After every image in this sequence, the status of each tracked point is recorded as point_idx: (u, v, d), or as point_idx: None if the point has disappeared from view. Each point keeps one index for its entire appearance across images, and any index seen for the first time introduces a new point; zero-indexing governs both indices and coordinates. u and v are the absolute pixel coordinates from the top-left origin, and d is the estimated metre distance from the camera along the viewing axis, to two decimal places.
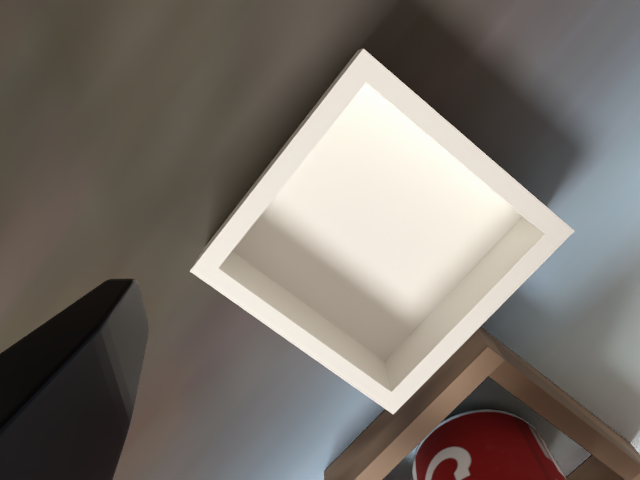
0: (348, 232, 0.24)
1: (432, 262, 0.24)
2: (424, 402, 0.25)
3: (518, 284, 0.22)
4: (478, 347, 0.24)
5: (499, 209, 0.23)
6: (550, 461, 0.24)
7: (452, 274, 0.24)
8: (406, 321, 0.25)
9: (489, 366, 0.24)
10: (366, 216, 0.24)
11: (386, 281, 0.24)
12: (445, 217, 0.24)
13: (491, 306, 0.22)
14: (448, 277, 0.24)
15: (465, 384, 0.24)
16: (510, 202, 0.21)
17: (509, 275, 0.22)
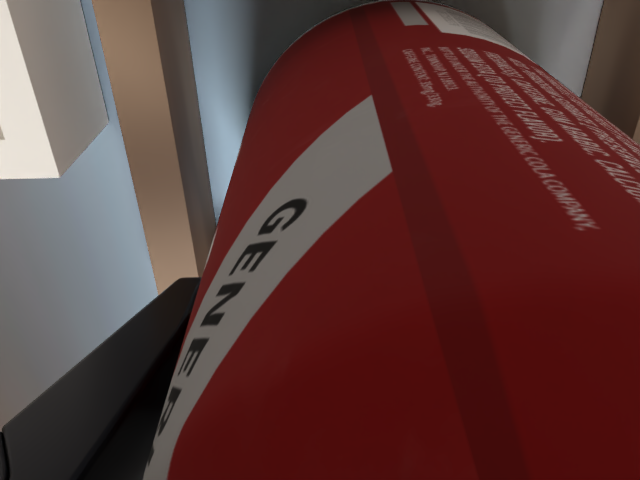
0: None
1: None
2: None
3: None
4: None
5: None
6: (418, 27, 0.09)
7: None
8: None
9: None
10: None
11: None
12: None
13: None
14: None
15: (124, 13, 0.10)
16: None
17: None
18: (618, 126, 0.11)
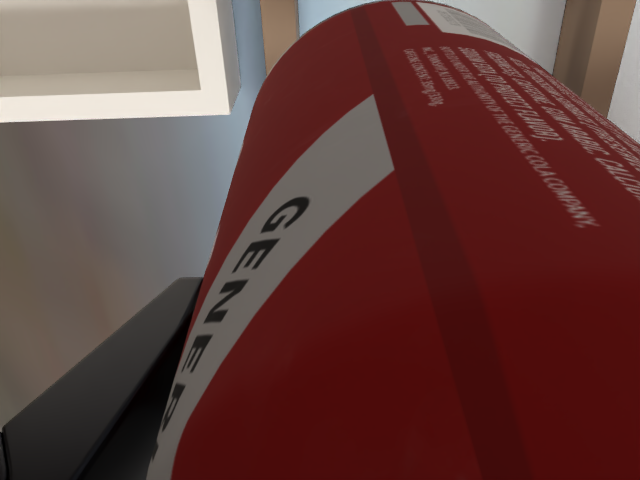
0: None
1: None
2: None
3: None
4: None
5: None
6: (419, 27, 0.09)
7: None
8: (187, 1, 0.18)
9: None
10: None
11: None
12: None
13: None
14: None
15: (278, 13, 0.16)
16: None
17: None
18: (575, 81, 0.18)
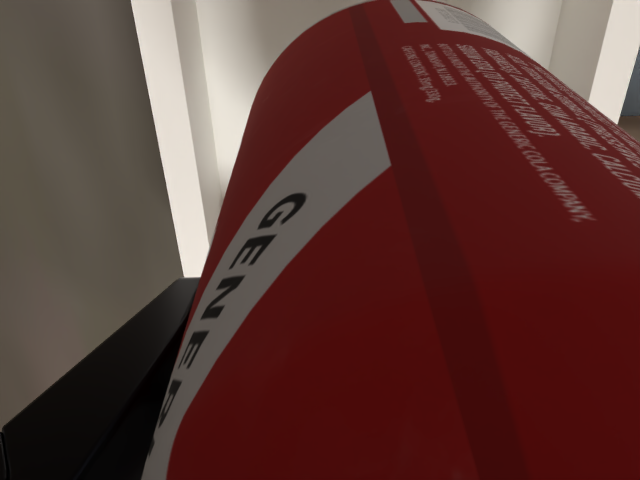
0: None
1: None
2: None
3: (637, 37, 0.12)
4: None
5: None
6: (417, 24, 0.09)
7: None
8: None
9: None
10: None
11: None
12: None
13: (612, 100, 0.12)
14: None
15: None
16: None
17: (611, 35, 0.12)
18: None
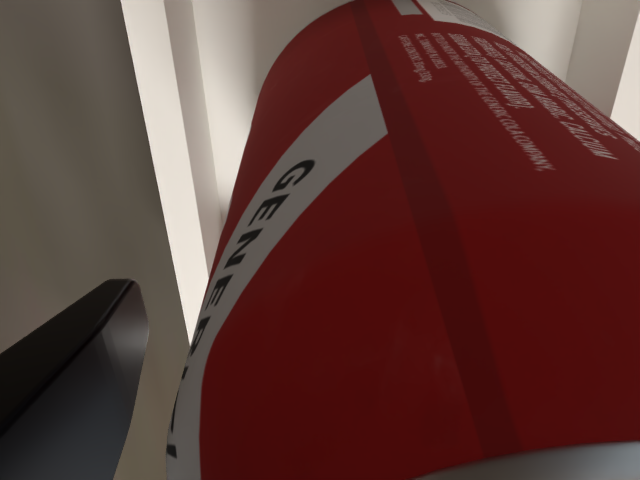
0: None
1: None
2: None
3: None
4: None
5: None
6: (413, 16, 0.10)
7: None
8: None
9: None
10: None
11: None
12: None
13: (635, 119, 0.12)
14: None
15: None
16: None
17: (635, 51, 0.11)
18: None
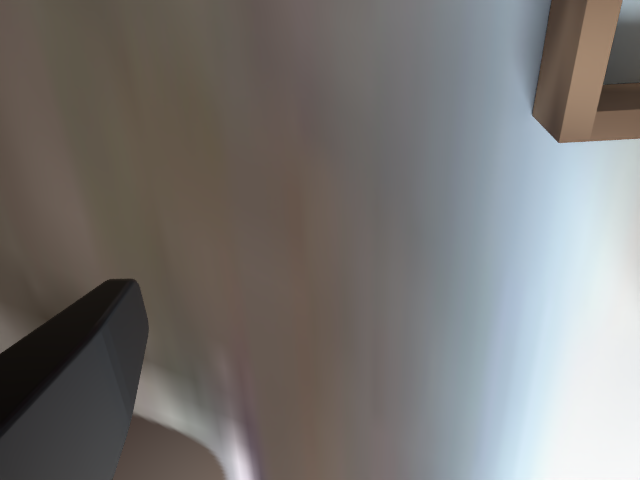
0: None
1: None
2: None
3: None
4: None
5: None
6: None
7: None
8: None
9: None
10: None
11: None
12: None
13: None
14: None
15: None
16: None
17: None
18: None
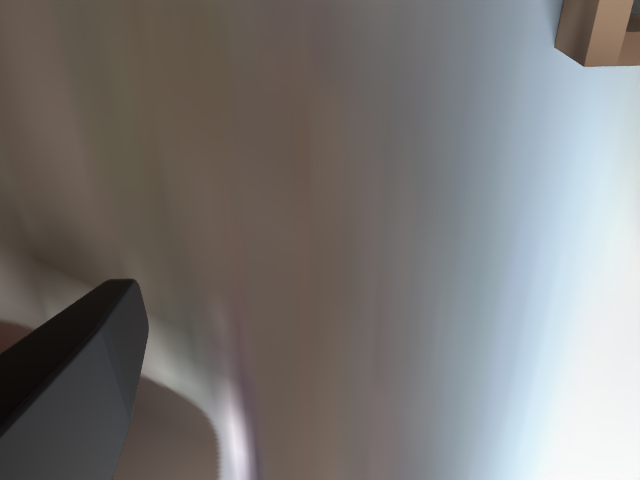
0: None
1: None
2: None
3: None
4: None
5: None
6: None
7: None
8: None
9: None
10: None
11: None
12: None
13: None
14: None
15: None
16: None
17: None
18: None
